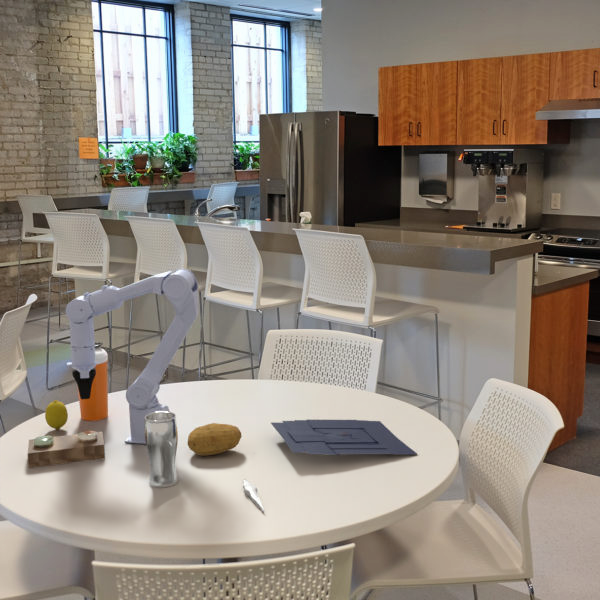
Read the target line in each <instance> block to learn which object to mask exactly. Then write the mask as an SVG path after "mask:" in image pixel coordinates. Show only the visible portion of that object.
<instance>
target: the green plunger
mask: <svg viewBox="0 0 600 600" xmlns="http://www.w3.org/2000/svg"><path fill="white" fill-rule="evenodd" d="M53 437H54V436H52V435H40V436H38V437H35V438H33V439H34V447H36V448H47V447H50V446H52V445H53V444H54V439H53Z"/></svg>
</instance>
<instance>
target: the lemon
mask: <svg viewBox="0 0 600 600" xmlns="http://www.w3.org/2000/svg"><path fill="white" fill-rule="evenodd" d="M68 415H69V414H68V409H67V407H66V405H65V404H64V403H63V402H61V401H58V400H57V399H56V400H55V399H54V400H53V401H51V402H50V403H48V405H47V406H46V408H45V412H44V416H45V422H46V424H47V425H48V426H49V427H50V428H53V429H55V430H56V431H59V430H60V429H61V428H63V427H64V426H65V425H66V424H67V422H68Z"/></svg>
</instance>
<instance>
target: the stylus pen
mask: <svg viewBox="0 0 600 600" xmlns="http://www.w3.org/2000/svg"><path fill="white" fill-rule="evenodd" d="M242 484H243V486H242V489H243V493H244V494H245V496H246V497H248V498H250V500H251V502H252V503H254V505H256V506H257V508H258V509H259V510H261V511H262V512H265V509H264V506H263V503H262V502H261V498H260V496H259V494H258V488H257V487H256V486H255V485H254V484H252V482H250V481H248V480H247V479H246V478H243V479H242Z"/></svg>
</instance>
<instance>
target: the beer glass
mask: <svg viewBox="0 0 600 600" xmlns="http://www.w3.org/2000/svg"><path fill="white" fill-rule="evenodd" d="M178 439H179V435H178V424H177V417H176V413H174V412H172V411H169V412H167V411H160V412H153V413H150V414H148V415H146V416H145V443H146V444H145V448H146V452H147V455H148V460H149V463H150V464H149V466H150V474H149V481H148V482H149V485H150V486H152V487H154V488H169V487H172V486H174V485H176V484H177V483H178V481H179V480H178V474H177V470H176V457H177V451H178V450H177V449H178V441H179V440H178Z"/></svg>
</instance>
